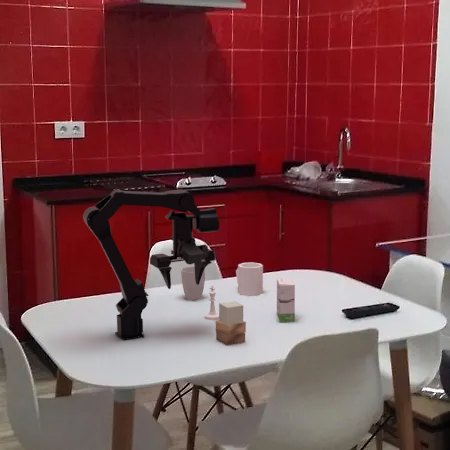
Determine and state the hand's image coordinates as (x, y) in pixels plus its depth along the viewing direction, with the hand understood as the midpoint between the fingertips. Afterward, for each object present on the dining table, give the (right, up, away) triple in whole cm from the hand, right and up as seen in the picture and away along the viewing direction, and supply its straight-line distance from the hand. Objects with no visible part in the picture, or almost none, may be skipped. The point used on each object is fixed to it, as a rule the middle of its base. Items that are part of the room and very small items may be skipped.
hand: (183, 286), depth 221 cm
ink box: (+31, -11, +13) cm, 35 cm away
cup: (+1, -7, +35) cm, 36 cm away
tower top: (+14, -12, -8) cm, 20 cm away
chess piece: (+8, -11, +14) cm, 19 cm away
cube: (+14, -9, -9) cm, 19 cm away
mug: (+20, -6, +43) cm, 48 cm away
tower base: (+14, -15, -8) cm, 22 cm away
